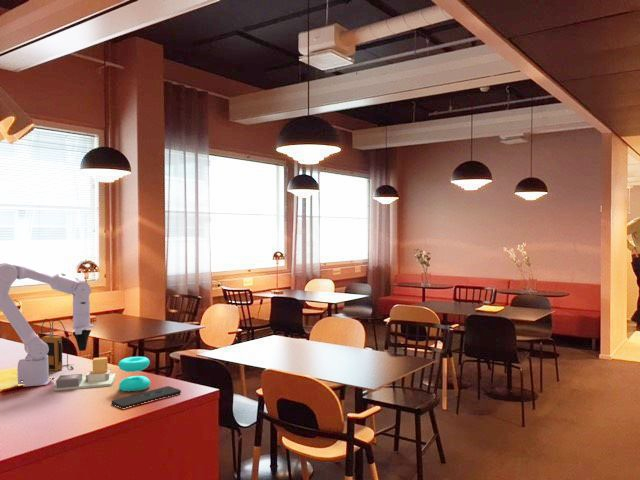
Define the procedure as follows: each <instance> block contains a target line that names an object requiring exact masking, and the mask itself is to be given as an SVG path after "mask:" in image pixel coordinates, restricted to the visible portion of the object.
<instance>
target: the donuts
mask: <svg viewBox="0 0 640 480" xmlns="http://www.w3.org/2000/svg"><path fill="white" fill-rule="evenodd" d="M150 364H151V362H150V359H149V358H148V357H146V356H129V357H125V358H123V359H121V360H120V361H119V362H118V368H119V369H120V370H121V371H123V372H127V373H132V372H139V371H143V370H146V369H147V368H148V367H149V365H150ZM150 385H151V380H150V379H149V378H148V377H147V376H145V375H134V376H133V375H132V376H128V377H124V378H123V379H122V380H120V382H119V384H118V388H119V390H121V391H122V392H125V391H128V392H127V393H130V392H129V391H136V392H140V391H139V390H141V391H143V390H144V391H145V390H146V389H148V388H149V387H150Z"/></svg>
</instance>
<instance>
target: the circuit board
mask: <svg viewBox="0 0 640 480" xmlns="http://www.w3.org/2000/svg"><path fill="white" fill-rule="evenodd" d="M116 377H117V373H115V372H114V373H111V376H110V378H109V380H100V381H88V382H86V375H82V382H81V384H80V385H79V386H76V387H65V388H56V386H55V387H54V391H56V392H58V391H68V390H69V391H70V390H77V389H90V388H101V387H112V386H113V384H114V381H115V379H116Z"/></svg>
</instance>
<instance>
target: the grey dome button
mask: <svg viewBox="0 0 640 480" xmlns="http://www.w3.org/2000/svg"><path fill="white" fill-rule="evenodd" d="M82 376H83V373H76V374H75V373H74V374H65V375H64V374H63V375H59V377H58V378H57V379H56V380H55V384H56V385H55V387H56V388H65V387H76V386H79V385H80V384H81V382H82Z"/></svg>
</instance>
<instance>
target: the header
mask: <svg viewBox="0 0 640 480" xmlns="http://www.w3.org/2000/svg"><path fill="white" fill-rule="evenodd" d="M111 374H112V370H111V369H109V368H108V372H106V373H102V374H93V370H89V371H87V373H86V374H85V376H86V382H88V381H100V380H109V378H110V376H111Z"/></svg>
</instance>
